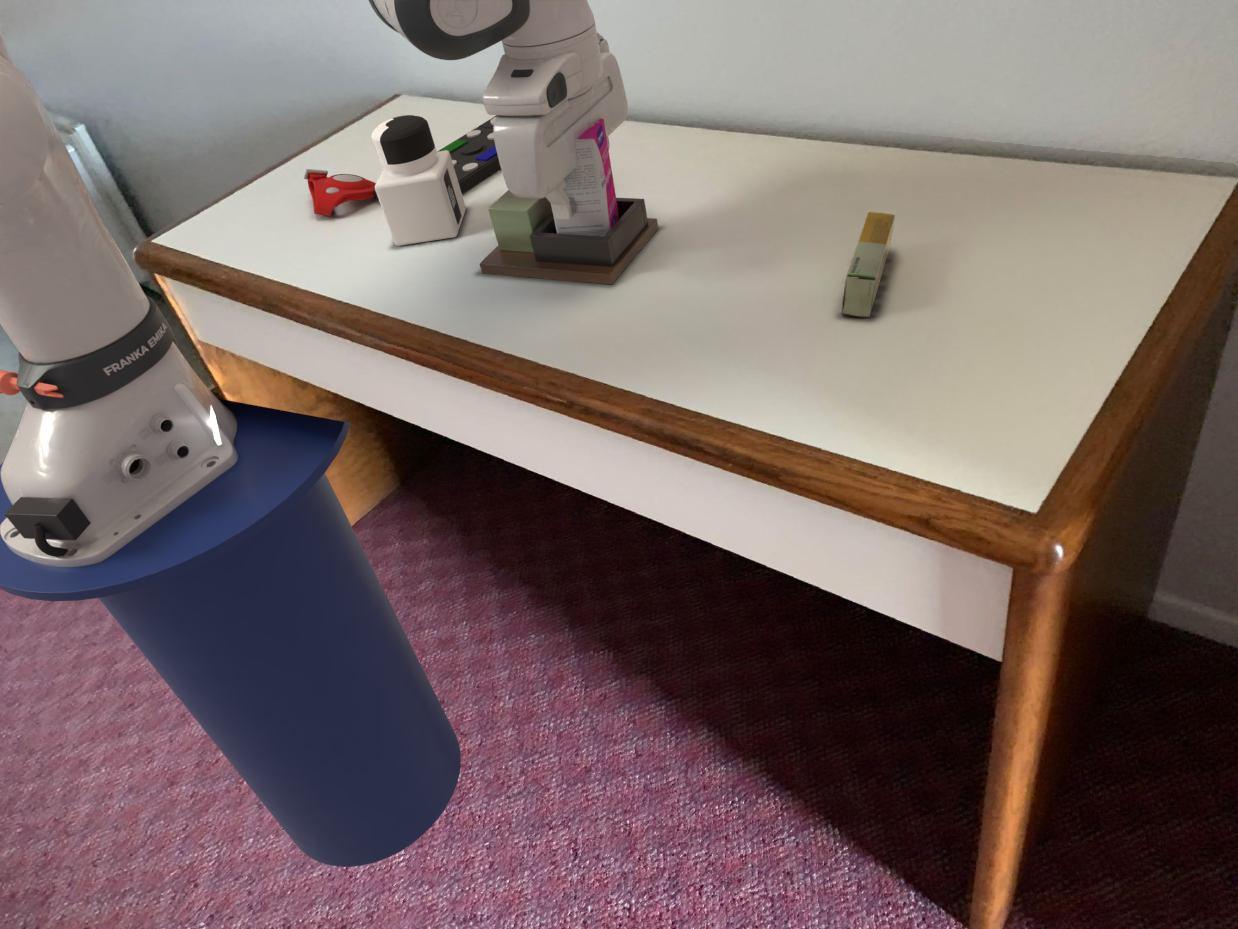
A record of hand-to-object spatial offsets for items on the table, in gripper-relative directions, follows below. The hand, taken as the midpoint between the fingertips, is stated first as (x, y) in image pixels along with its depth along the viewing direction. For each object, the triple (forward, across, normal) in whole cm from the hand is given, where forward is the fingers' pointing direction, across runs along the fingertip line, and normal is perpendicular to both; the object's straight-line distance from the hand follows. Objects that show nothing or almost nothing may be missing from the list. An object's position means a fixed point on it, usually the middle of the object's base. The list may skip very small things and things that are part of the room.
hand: (583, 199), depth 96 cm
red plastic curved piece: (+6, -9, -43) cm, 44 cm away
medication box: (+6, +2, +30) cm, 31 cm away
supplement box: (+4, 0, 0) cm, 4 cm away
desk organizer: (+6, 0, -3) cm, 7 cm away
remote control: (+6, -23, -29) cm, 37 cm away
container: (+6, -3, -24) cm, 25 cm away
